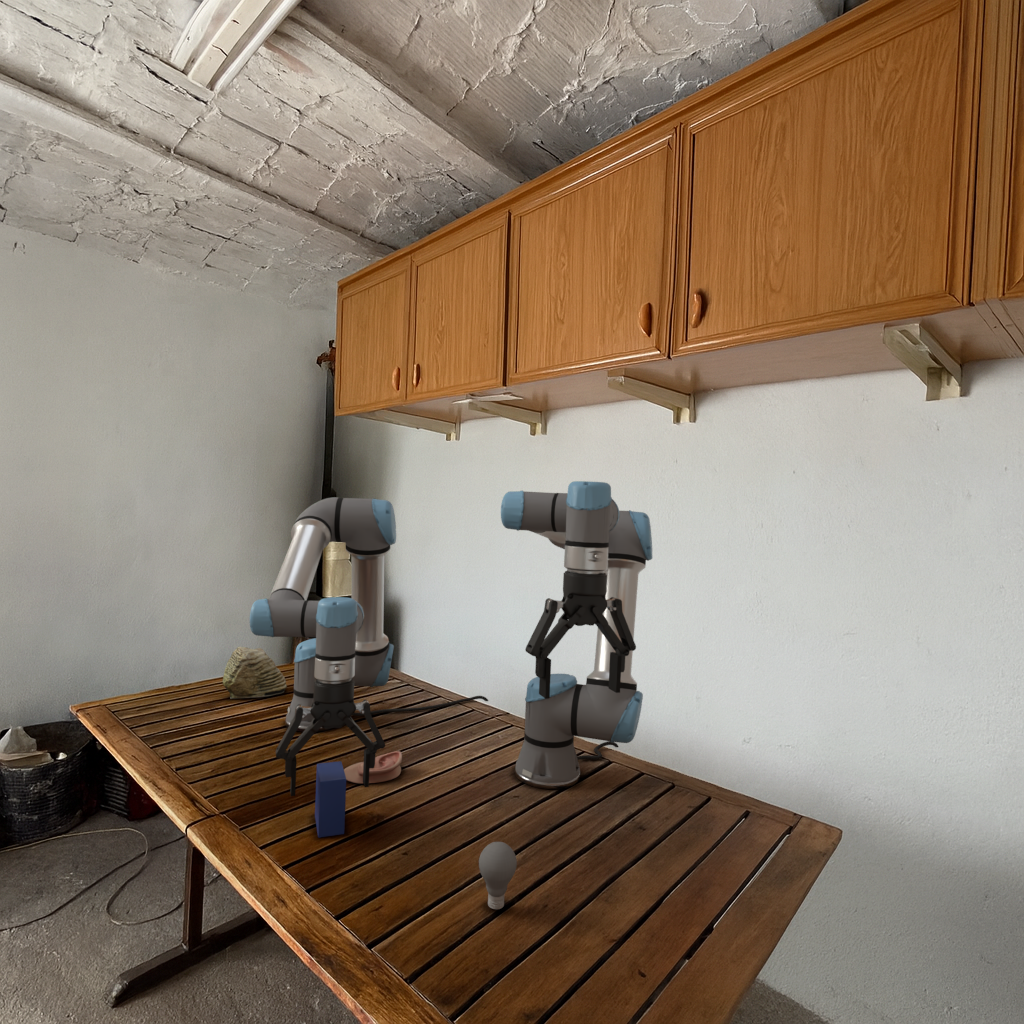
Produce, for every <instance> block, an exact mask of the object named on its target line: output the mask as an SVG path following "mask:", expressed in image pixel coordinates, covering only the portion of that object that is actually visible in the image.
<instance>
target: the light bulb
mask: <svg viewBox="0 0 1024 1024" xmlns="http://www.w3.org/2000/svg"><path fill="white" fill-rule="evenodd" d="M517 865H518V860H517V856H516V854H515V851H514V849H513V848H512V847H511V846H510V845H509V844H507V843H506V842H503V841H493V842H491V843H488V844H487V845H486V846H485V847H484V848H483V850H482V851H481V852H480V855H479V857H478V869H479V872H480V875H481V877H482V879H483V881H484V883H485V889H486V891H487V895H488V896H487V906H488V907H489V908H490V909H493V910H500V909H502V908H503V907H504V906H505V895H506V893H507V890H508V886H509V883H510V881H512V878H513V877H514V876H515V873H516V870H517Z"/></svg>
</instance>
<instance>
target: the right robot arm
mask: <svg viewBox="0 0 1024 1024" xmlns="http://www.w3.org/2000/svg"><path fill="white" fill-rule="evenodd" d="M500 521H501V524H502V525H503V527H504V528H505V529H508V530H516V531H517V532H520V531H529V532H531V533H534V534H536V535H539V536H541V537H544V538H547V540H549V542H550V543H551V544H552V545H553V546H556V547H557V548H560V549H563V550H564V555H563V557H564V558H563V568H565V569H566V570H565V571H564V572H563V577H562V579H563V580H562V583H563V584H562V594H563V595H562V599H561V600H556V599H552V598H546V599H545V602H544V608H543V612H542V614H541V616H540V618H539V620H538V622H537V624H536V626H535V628H534V630H533V633H532V634H531V636H530V638H529V640H528V642H527V644H526V646H525V653H528V654H529V655H530V656H532V657H534V658H535V670H534V674H535V676H536V677H533V678H532V679H531V680H529V682H528V683H527V686H526V694H525V698H524V700H525V701H524V702H525V711H524V712H525V713H524V734H523V735H524V740H523V743H522V746H521V748H520V751H519V754H518V756H517V760H516V762H515V767H514V774H515V777H516V778H517V779H518V780H519V781H520V782H522V783H524V784H526V785H528V786H531V787H534V788H539V789H545V790H557V789H559V790H560V789H565V788H569V787H572V786H574V785H576V784H577V783H579V781H580V778H581V768H580V763H579V761H581V760H594V761H595V760H601V759H602V758H603V754H602V753H601V751H599V750H600V749H601V748H603V747H607V746H612V747H614V748H619V747H620V746H619V744H629V743H631V742H632V741H633V740H634V739H635V736H636V732H637V730H638V726H639V721H640V717H641V713H642V712H641V711H642V705H643V699H644V694H643V693H642V691H640V690H637V689H638V682H637V681H636V680H635V679H634V677H633V676H632V668H633V666H632V665H633V653H634V651H635V650H636V649H637V646H636V645H637V644H636V643H635V640H634V638H635V627H636V613H637V612H636V611H637V601H638V587H639V586H638V585H639V575H640V573H641V572H642V571H643V570H645V569H646V566H647V565H646V564H647V562H648V561H651V560H653V538H652V537H653V536H652V528H651V527H652V526H651V520H650V517H649V515H648V514H647V513H645V512H644V511H634V510H633V511H632V510H620V509H619V506H618V504H617V502H616V501H615V500H614V499H613V497H612V487H611V485H610V483H608V482H605V481H589V480H587V481H585V480H583V481H582V480H575V481H572V482H569V484H568V486H567V492H544V491H543V492H541V491H524V490H519V491H517V490H516V491H513V490H512V491H508V492H506V493H505V494H504V495H503V497H502V499H501V504H500ZM646 561H647V562H646ZM560 609H561V610H562V612H563V613H562V614H561V616H560V617H559V618H558V620H557V623H556V624H555V625H554V626H553V628H552V629H551V627H552V625H553V624H554V620H555V619H556V616H557V614H558V613H559V612H560ZM585 625H586V626H596V627H597V630H596V631H597V632H596V643H595V653H594V654H595V655H594V657H595V658H594V666H593V670H592V672H591V673H589V674H588V675H587V676H586V681H585V684H581V683H578V680H577V677H576V676H574V675H573V674H569V673H552V659H551V658H550V657H549V655H550V654H551V653H552V652H553V650H554V649H555V648H556V647H557V646H558V644H559V643H560V642H561V640H562V639H563V638H564V636H565V635H566V634H567V633H568V632H569V630H571V629H572V628H574V626H577V627H583V626H585ZM550 629H551V631H550ZM549 631H550V632H549ZM575 737H579V738H586V739H592V740H597V741H598V740H599V741H604V742H602V743H600V744H598V745H596V746H594V748H593V751H594V753H595V754H596V755H577V753H576V749H575V745H574V744H575V743H574V741H575V740H574V738H575ZM618 743H619V744H618Z"/></svg>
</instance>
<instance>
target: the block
mask: <svg viewBox="0 0 1024 1024" xmlns="http://www.w3.org/2000/svg"><path fill="white" fill-rule="evenodd" d="M344 769H345V768H344V766H343V763H342V761H341V760H340V761H330V762H329V761H328V762H319V763H316V776H315V801H314V802H315V803H314V821H315V826H316V832H317V838H319V839H320V838H326V837H334V836H340V835H345V826H346V822H345V821H346V799H347V797H346V796H347V780H346V776H345V772H344Z"/></svg>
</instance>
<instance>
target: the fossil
mask: <svg viewBox="0 0 1024 1024" xmlns="http://www.w3.org/2000/svg"><path fill="white" fill-rule="evenodd" d="M222 676H223V677H222V685H223V687H224V688H225V690H226V691H228V693H229V698H230V699H250V698H264V697H271V696H275V695H281V694H284V693H285V691H286V689H287V687H288V686H287V680H286V678H285V676H284V674H283V673H282V672H281V669H279V668H278V667H277V665H276V663H275V662H274V660H273V659H272V658H271V657H270V656H269V655H268V654H267V653H266V652H265V650H264V649H263V648H260V647H258V648H251V647H247V646H246V647H245V646H238V647H237V648H236V649H235V650H233V651H232V653H231V656H230V657H229V659H228V660H227V663H226V666H225V668H224V671H223V675H222Z"/></svg>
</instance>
